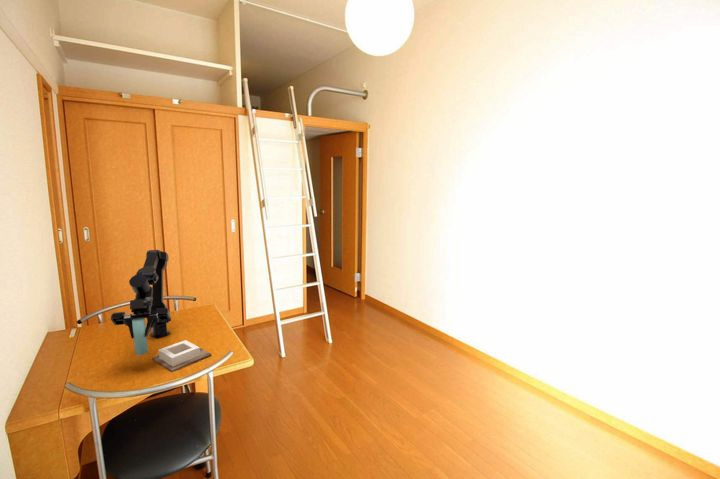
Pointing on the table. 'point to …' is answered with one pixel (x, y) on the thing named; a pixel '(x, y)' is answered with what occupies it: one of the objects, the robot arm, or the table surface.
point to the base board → (202, 356)
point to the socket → (179, 353)
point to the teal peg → (139, 336)
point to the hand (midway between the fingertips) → (139, 337)
